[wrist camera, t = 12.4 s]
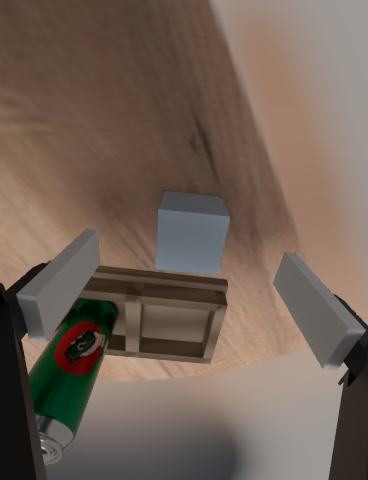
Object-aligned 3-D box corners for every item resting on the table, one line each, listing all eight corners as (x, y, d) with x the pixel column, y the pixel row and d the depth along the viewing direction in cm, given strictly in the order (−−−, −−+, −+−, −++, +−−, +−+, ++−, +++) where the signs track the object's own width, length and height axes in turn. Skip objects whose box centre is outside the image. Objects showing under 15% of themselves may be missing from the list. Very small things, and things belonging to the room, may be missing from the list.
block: (164, 190, 19) (158, 209, 14) (220, 196, 19) (230, 216, 15) (161, 240, 21) (155, 269, 17) (211, 244, 21) (217, 275, 17)
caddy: (48, 260, 22) (30, 278, 20) (226, 280, 23) (231, 299, 21) (63, 332, 27) (50, 353, 25) (208, 345, 28) (211, 368, 26)
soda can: (68, 294, 23) (-33, 433, 12) (114, 292, 23) (52, 432, 12) (80, 327, 25) (4, 469, 15) (122, 325, 25) (77, 468, 15)
